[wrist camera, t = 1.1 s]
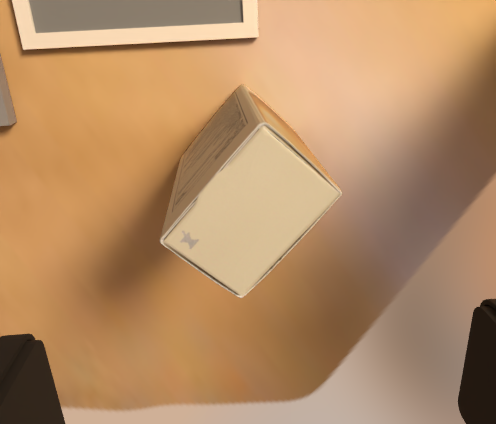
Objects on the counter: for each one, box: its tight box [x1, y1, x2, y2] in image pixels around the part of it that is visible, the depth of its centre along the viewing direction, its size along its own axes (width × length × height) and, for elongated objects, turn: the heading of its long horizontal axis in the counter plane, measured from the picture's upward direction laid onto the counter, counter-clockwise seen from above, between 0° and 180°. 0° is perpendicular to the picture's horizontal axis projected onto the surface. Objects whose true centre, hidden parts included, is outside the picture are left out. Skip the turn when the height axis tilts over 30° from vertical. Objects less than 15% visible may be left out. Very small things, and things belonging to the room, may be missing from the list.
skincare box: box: [160, 85, 342, 298], centre depth 23 cm, size 6×4×12 cm
